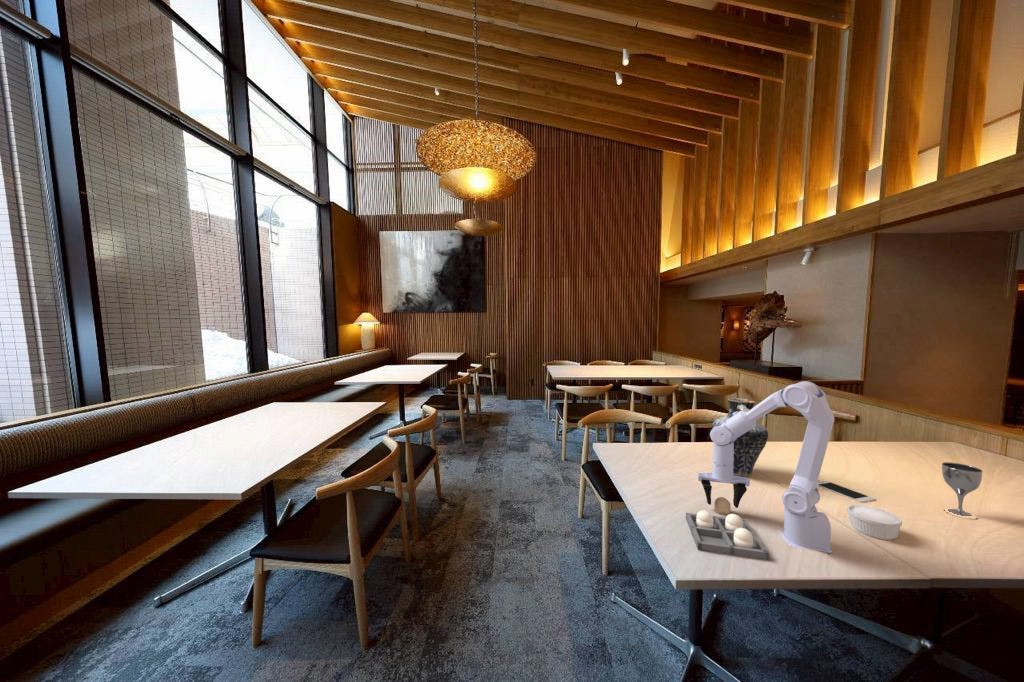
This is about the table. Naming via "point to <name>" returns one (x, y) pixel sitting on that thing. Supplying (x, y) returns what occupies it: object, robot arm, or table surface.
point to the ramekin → (874, 522)
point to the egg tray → (724, 539)
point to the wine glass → (961, 482)
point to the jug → (745, 439)
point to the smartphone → (845, 492)
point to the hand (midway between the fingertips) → (722, 504)
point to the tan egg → (722, 506)
